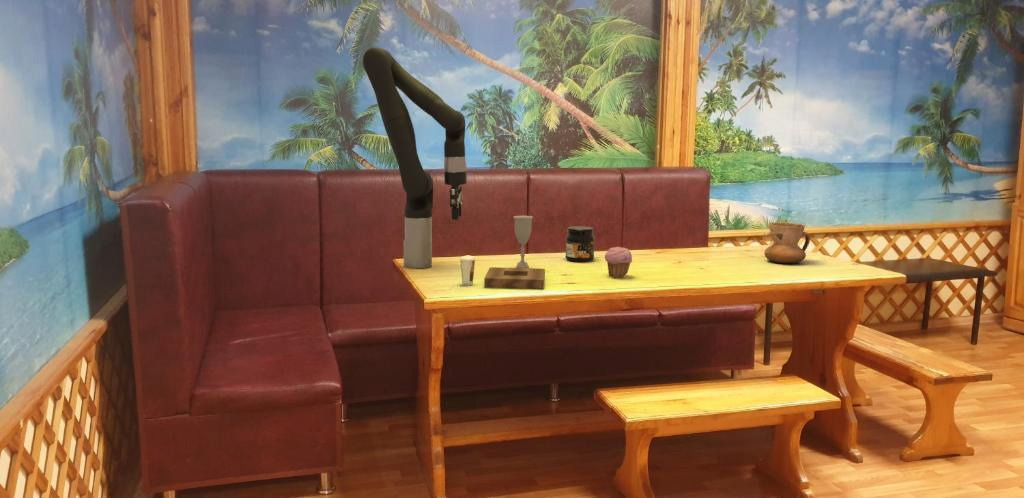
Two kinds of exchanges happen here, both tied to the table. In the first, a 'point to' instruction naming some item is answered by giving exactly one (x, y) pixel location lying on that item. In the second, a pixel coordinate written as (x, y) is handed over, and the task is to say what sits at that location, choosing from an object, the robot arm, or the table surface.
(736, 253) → the table surface
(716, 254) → the table surface
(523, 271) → the well block
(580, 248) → the supplement container
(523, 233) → the chalice
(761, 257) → the table surface
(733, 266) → the table surface
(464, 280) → the milkshake
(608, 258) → the cupcake
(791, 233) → the ceramic jug
